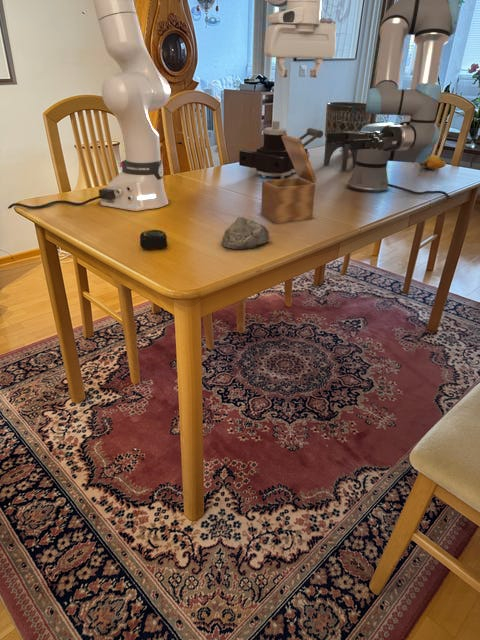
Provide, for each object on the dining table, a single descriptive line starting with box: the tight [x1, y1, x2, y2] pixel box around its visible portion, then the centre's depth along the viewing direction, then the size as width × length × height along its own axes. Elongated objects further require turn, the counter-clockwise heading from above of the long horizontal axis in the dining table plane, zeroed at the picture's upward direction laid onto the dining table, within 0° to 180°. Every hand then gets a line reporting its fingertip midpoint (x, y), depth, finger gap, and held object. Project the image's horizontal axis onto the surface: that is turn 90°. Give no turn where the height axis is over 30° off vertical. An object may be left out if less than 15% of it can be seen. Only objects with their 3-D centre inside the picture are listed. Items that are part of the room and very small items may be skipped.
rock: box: [221, 216, 270, 250], centre depth 119 cm, size 13×9×6 cm, turn 131°
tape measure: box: [139, 229, 168, 250], centre depth 117 cm, size 7×7×4 cm
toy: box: [418, 154, 447, 171], centre depth 211 cm, size 11×6×15 cm
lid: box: [281, 127, 324, 184], centre depth 136 cm, size 14×10×9 cm
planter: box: [323, 101, 372, 172], centre depth 204 cm, size 20×20×26 cm
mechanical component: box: [238, 120, 311, 179], centre depth 191 cm, size 22×21×30 cm
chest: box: [260, 177, 316, 224], centre depth 141 cm, size 13×10×11 cm
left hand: (298, 77), depth 124 cm, fingers open, 8 cm apart
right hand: (339, 141), depth 138 cm, fingers open, 13 cm apart
